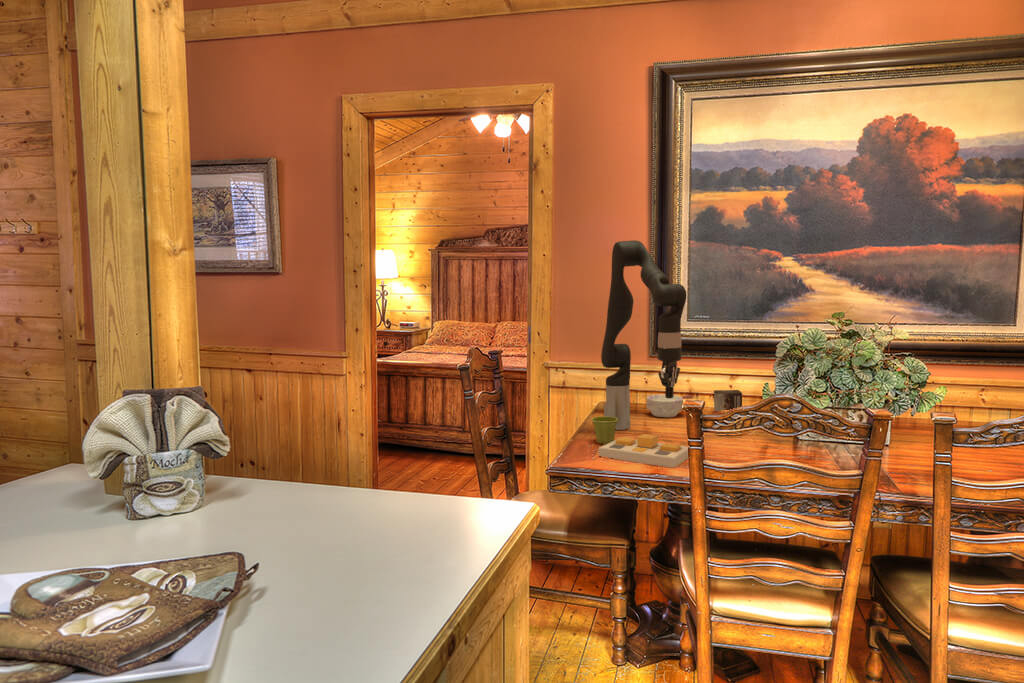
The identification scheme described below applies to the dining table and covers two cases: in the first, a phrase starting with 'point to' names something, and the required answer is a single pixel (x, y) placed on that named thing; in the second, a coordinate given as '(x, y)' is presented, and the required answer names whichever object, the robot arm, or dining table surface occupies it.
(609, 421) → the plant pot
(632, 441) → the button left
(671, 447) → the button right
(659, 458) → the button board
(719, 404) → the coffee box
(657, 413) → the light grey bowl
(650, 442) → the button middle
